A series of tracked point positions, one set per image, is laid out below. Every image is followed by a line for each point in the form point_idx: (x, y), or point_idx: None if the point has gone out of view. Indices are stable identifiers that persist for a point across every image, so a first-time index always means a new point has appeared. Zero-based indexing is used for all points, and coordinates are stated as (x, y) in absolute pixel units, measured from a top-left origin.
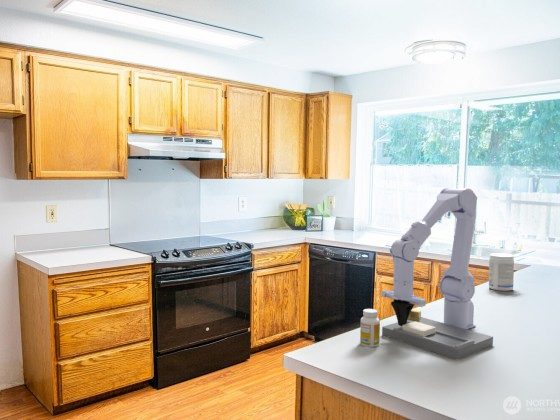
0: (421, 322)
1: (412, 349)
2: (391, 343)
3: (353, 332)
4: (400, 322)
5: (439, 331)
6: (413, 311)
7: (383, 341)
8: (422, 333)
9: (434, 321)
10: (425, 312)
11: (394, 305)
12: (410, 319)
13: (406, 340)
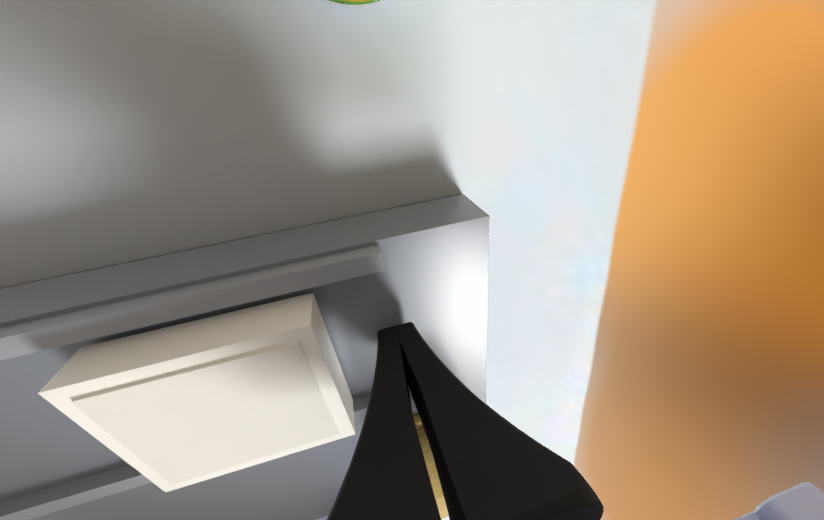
0: None
1: (67, 187)
2: (275, 125)
3: (635, 22)
4: (389, 344)
5: None
6: (437, 497)
7: (346, 97)
8: (64, 369)
9: None
10: None
11: (505, 483)
12: None
13: (237, 247)
